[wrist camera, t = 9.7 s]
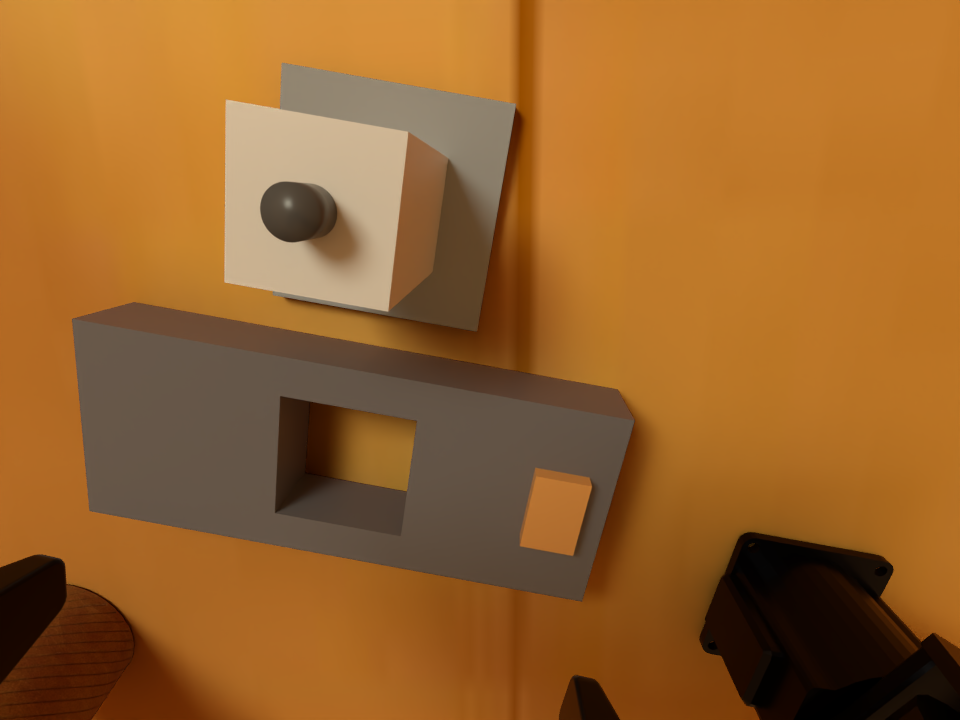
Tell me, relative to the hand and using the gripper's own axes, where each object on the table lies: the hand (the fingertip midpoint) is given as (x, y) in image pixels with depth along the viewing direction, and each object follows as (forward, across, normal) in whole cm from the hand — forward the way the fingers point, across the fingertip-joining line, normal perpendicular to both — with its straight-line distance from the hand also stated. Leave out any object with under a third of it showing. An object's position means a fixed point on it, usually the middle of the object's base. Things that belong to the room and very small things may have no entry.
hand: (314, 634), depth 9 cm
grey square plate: (+12, +3, -7) cm, 14 cm away
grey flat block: (+13, +3, +3) cm, 13 cm away
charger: (+12, +3, -7) cm, 14 cm away
